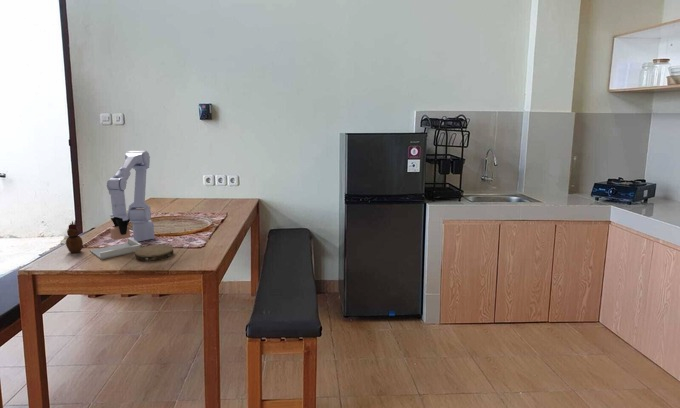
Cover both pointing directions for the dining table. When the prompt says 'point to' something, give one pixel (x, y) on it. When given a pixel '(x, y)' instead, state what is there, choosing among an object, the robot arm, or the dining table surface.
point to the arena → (117, 249)
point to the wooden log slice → (154, 253)
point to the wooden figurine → (74, 239)
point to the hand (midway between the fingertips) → (121, 233)
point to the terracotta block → (118, 233)
